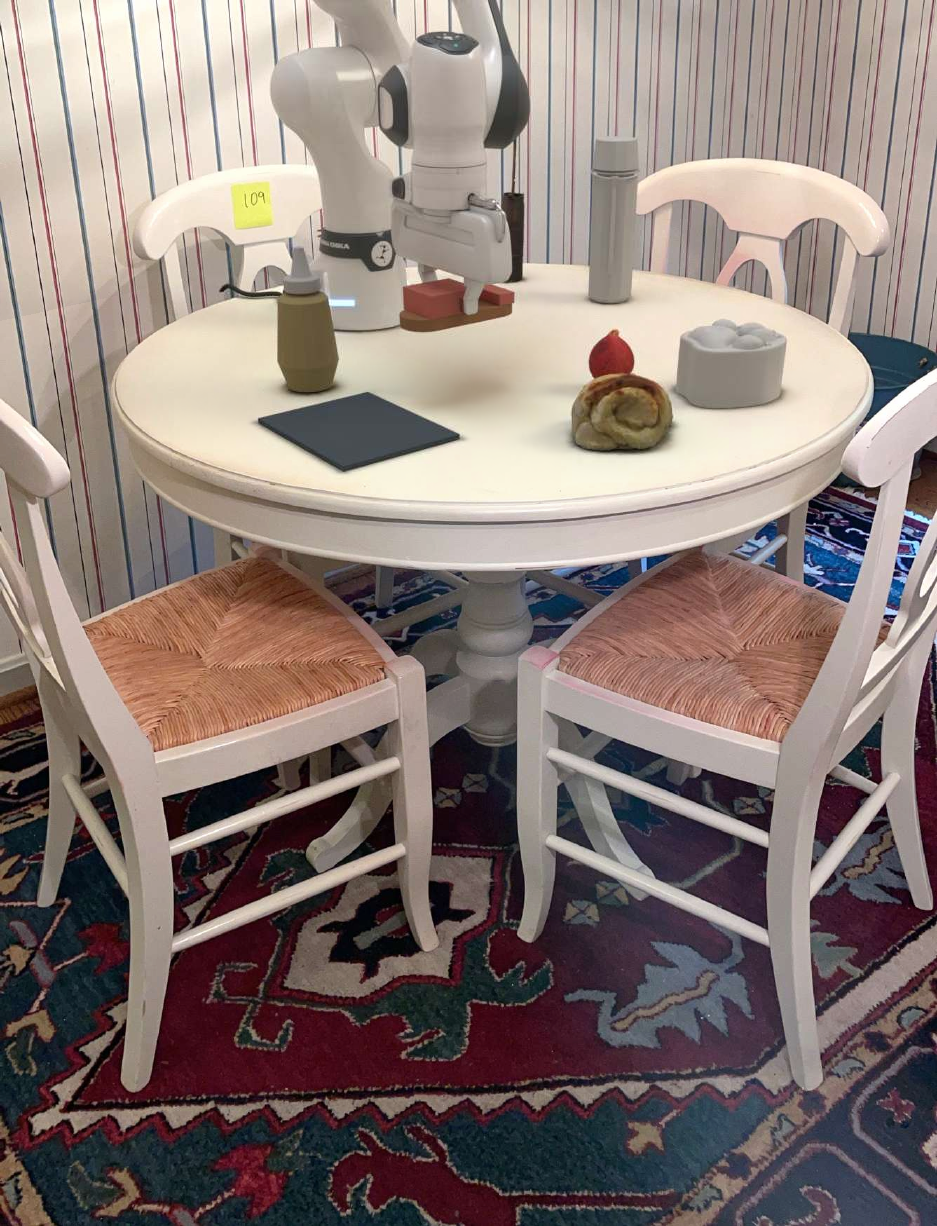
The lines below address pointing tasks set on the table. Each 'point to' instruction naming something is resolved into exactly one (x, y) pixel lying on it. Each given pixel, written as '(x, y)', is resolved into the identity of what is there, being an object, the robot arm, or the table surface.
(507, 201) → the butter churn
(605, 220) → the water bottle
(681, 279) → the table surface
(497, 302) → the slipper
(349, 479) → the table surface
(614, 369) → the onion
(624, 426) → the pastry
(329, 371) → the squeeze bottle
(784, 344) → the lumpy-topped squat cylinder
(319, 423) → the mat
